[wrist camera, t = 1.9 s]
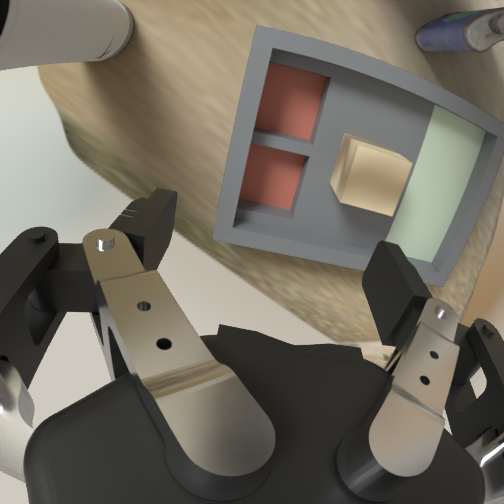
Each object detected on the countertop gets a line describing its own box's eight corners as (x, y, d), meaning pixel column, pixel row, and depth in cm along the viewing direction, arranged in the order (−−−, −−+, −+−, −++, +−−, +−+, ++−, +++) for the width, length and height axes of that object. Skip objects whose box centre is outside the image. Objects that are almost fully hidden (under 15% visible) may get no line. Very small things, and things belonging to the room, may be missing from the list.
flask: (421, 56, 22) (488, 57, 13) (407, 28, 21) (470, 15, 12) (485, 32, 20) (556, 34, 10) (473, 6, 18) (543, -2, 9)
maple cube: (344, 133, 25) (358, 145, 21) (391, 148, 25) (412, 163, 21) (329, 182, 27) (339, 202, 23) (375, 195, 27) (392, 216, 23)
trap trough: (257, 32, 23) (256, 25, 19) (486, 118, 24) (511, 128, 21) (219, 217, 32) (212, 239, 28) (427, 263, 34) (442, 287, 30)
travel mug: (132, 61, 24) (-43, 79, 7) (73, 62, 24) (-101, 97, 7) (143, -1, 21) (-16, -57, 4) (82, 4, 20) (-86, -11, 3)
